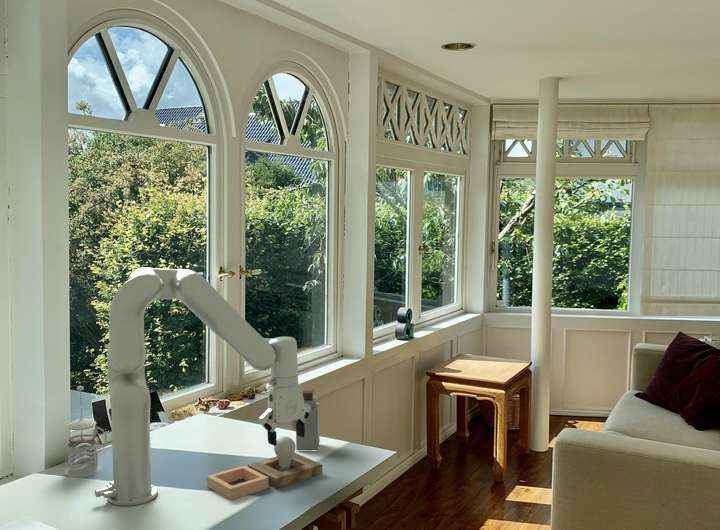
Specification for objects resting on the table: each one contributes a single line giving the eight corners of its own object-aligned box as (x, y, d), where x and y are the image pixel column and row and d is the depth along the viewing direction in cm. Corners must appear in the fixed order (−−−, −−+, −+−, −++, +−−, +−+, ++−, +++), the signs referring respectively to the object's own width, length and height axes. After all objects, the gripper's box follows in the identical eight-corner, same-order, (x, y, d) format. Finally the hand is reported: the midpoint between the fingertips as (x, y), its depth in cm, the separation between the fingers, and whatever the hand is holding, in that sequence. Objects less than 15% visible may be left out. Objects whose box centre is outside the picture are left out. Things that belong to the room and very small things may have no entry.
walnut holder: (275, 489, 195) (275, 478, 195) (247, 474, 206) (247, 464, 205) (322, 474, 206) (322, 464, 206) (293, 461, 216) (293, 451, 216)
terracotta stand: (230, 500, 188) (230, 488, 188) (207, 486, 197) (206, 475, 197) (268, 488, 196) (268, 477, 196) (244, 475, 205) (244, 465, 205)
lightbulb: (285, 480, 202) (285, 442, 201) (269, 475, 205) (269, 437, 204) (300, 474, 206) (299, 436, 205) (284, 469, 210) (284, 432, 209)
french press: (63, 468, 211) (60, 384, 209) (104, 461, 216) (102, 379, 214) (66, 479, 202) (63, 391, 200) (109, 472, 208) (107, 387, 205)
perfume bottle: (317, 451, 225) (317, 394, 224) (296, 451, 226) (295, 394, 224) (319, 444, 232) (319, 389, 231) (298, 444, 232) (298, 389, 231)
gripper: (266, 389, 195) (268, 451, 197) (317, 377, 206) (318, 436, 208) (251, 384, 201) (253, 444, 202) (301, 373, 212) (303, 430, 214)
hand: (286, 440), depth 205 cm, fingers open, 9 cm apart
